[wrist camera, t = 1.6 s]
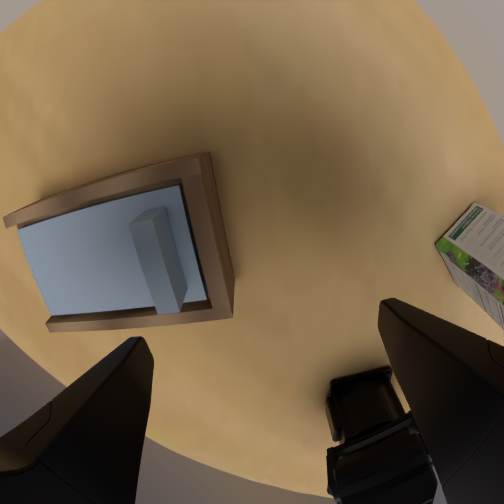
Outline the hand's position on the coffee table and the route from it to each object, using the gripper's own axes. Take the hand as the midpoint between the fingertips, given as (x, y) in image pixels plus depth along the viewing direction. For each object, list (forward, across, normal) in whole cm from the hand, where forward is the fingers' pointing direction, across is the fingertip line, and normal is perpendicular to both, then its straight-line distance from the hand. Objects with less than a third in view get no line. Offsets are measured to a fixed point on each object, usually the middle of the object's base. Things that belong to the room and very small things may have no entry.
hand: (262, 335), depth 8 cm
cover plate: (+9, +9, 0) cm, 13 cm away
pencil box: (+12, +9, 0) cm, 15 cm away
